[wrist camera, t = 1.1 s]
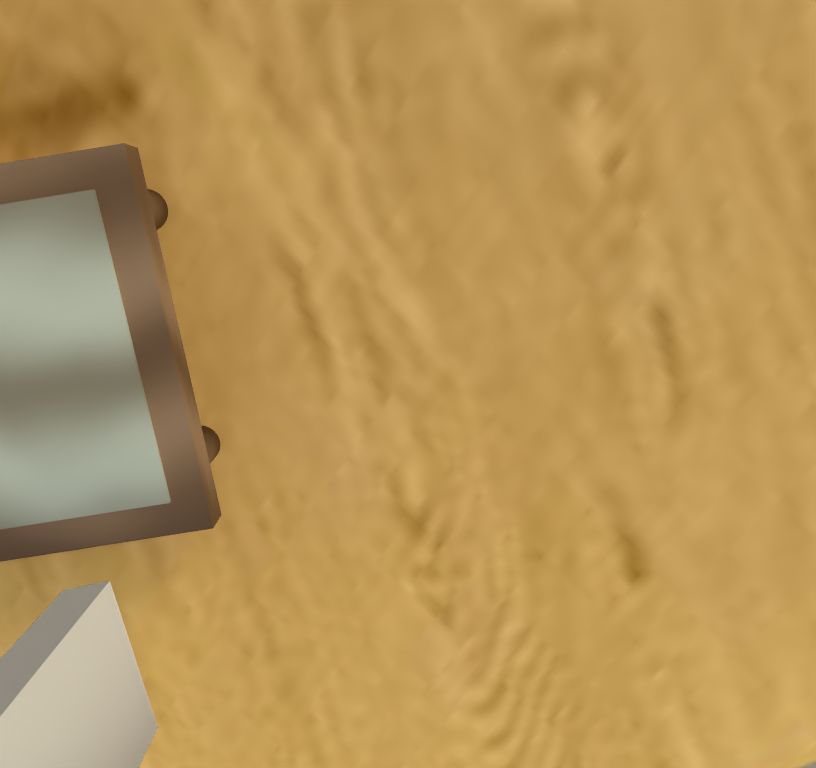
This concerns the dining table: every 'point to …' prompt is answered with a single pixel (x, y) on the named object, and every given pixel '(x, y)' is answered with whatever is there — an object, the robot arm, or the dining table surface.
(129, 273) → the footstool
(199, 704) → the dining table surface
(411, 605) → the dining table surface
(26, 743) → the robot arm
